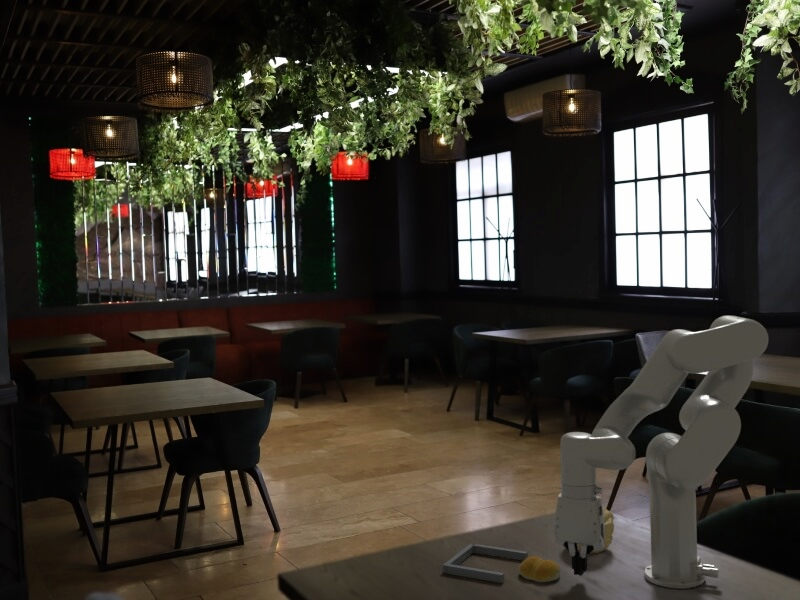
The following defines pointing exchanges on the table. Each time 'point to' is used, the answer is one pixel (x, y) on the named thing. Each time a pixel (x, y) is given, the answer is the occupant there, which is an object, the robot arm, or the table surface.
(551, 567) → the bread roll
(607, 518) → the pale yellow rounded lump
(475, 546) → the bay
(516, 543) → the table surface
